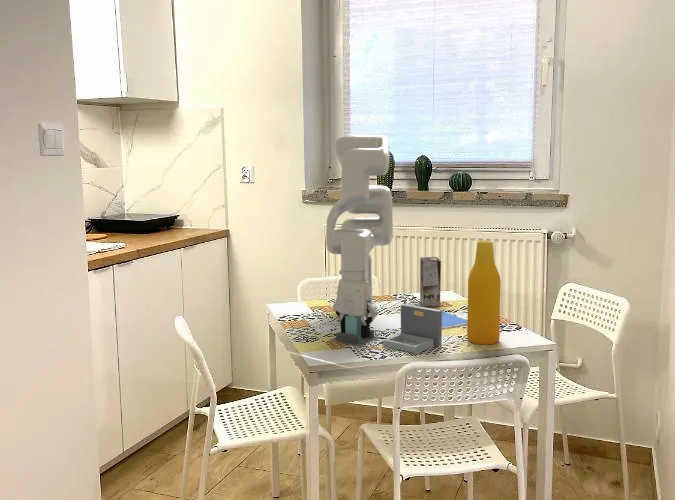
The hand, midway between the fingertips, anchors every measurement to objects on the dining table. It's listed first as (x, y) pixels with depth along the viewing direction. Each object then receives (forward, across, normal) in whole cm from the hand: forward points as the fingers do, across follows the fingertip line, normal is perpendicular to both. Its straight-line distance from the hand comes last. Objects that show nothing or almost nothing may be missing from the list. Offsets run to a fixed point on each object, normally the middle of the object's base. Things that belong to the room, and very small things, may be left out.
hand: (355, 334), depth 200 cm
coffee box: (+2, -6, +51) cm, 51 cm away
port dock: (+2, +16, +5) cm, 17 cm away
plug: (+1, 0, 0) cm, 1 cm away
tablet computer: (+2, +8, +34) cm, 35 cm away
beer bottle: (+2, +30, +22) cm, 37 cm away
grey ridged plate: (+2, 0, 0) cm, 2 cm away
